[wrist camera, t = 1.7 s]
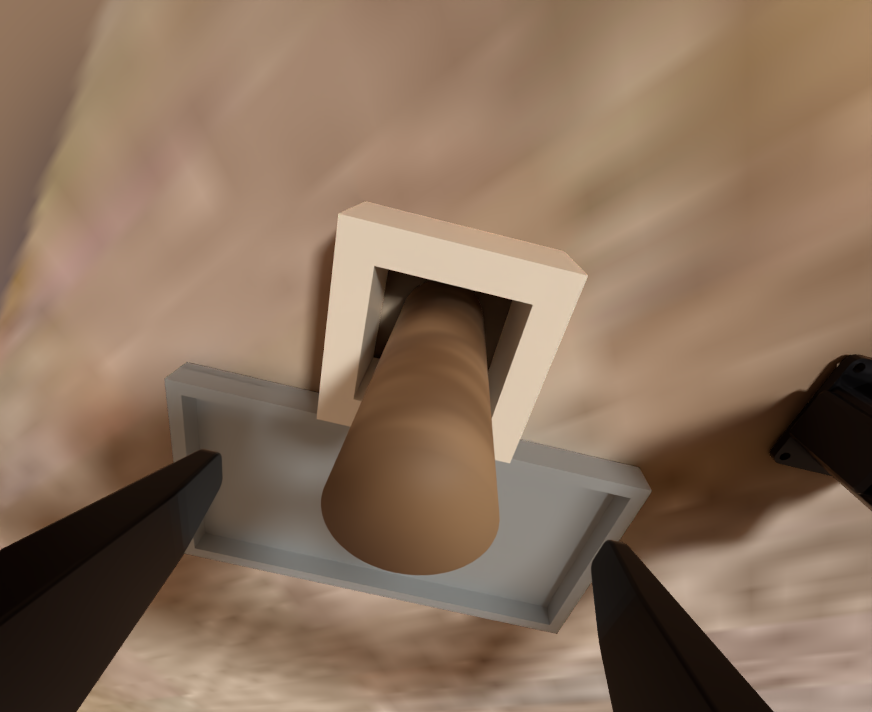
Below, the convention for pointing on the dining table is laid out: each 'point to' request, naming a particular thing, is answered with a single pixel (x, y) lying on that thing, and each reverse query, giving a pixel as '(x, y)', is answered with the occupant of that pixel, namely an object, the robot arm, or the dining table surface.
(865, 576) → the dining table surface
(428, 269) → the square frame
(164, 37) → the dining table surface
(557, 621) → the tray
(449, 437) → the pin
